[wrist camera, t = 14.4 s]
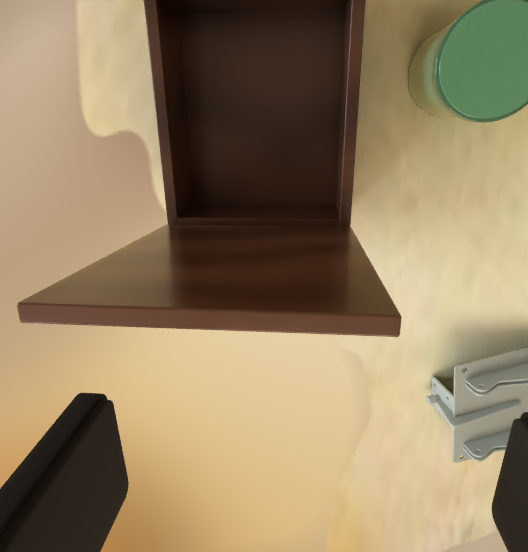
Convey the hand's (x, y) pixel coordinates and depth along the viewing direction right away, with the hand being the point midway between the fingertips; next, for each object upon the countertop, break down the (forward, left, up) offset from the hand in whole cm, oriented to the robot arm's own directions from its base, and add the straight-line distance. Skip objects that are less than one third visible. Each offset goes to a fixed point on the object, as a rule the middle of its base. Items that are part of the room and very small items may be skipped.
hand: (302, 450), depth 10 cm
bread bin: (-7, -4, -27) cm, 29 cm away
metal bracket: (+18, +19, -28) cm, 38 cm away
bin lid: (-1, -4, -13) cm, 13 cm away
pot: (-10, +10, -27) cm, 31 cm away
